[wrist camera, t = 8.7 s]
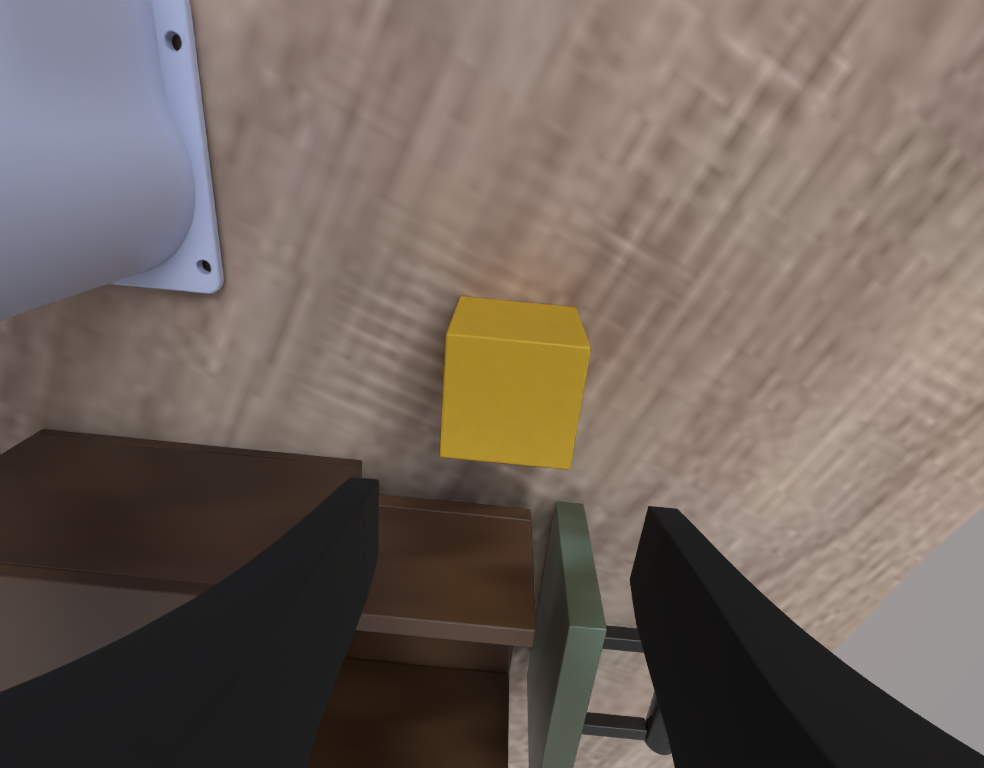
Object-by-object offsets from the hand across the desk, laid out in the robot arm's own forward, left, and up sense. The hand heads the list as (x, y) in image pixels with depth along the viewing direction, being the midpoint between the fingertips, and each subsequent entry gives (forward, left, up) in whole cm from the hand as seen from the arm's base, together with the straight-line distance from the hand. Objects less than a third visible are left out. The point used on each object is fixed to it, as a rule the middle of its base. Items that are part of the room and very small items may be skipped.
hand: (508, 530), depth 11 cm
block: (0, 0, -10) cm, 10 cm away
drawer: (+12, -1, -10) cm, 15 cm away
